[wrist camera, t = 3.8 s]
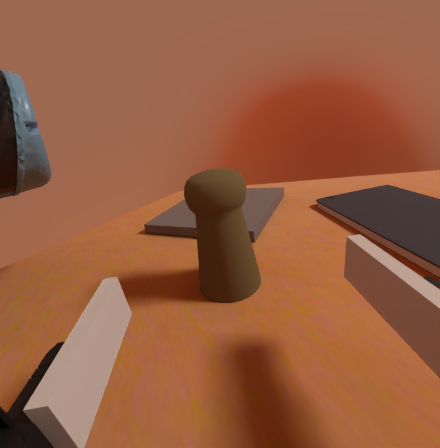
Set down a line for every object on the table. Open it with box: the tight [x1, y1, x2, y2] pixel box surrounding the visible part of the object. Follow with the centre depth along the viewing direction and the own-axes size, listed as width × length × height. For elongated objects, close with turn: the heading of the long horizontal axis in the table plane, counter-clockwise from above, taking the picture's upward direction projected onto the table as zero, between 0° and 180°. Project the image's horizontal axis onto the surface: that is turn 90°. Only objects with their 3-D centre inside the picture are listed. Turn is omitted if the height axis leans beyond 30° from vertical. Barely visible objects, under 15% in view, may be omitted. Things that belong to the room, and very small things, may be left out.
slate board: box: [144, 188, 284, 242], centre depth 41 cm, size 18×18×2 cm
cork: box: [184, 169, 261, 303], centre depth 22 cm, size 6×6×11 cm
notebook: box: [316, 185, 440, 277], centre depth 29 cm, size 13×2×21 cm
